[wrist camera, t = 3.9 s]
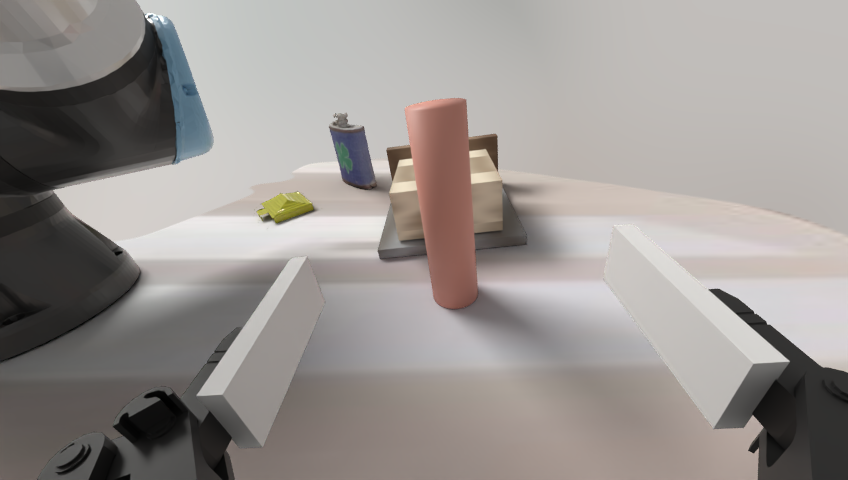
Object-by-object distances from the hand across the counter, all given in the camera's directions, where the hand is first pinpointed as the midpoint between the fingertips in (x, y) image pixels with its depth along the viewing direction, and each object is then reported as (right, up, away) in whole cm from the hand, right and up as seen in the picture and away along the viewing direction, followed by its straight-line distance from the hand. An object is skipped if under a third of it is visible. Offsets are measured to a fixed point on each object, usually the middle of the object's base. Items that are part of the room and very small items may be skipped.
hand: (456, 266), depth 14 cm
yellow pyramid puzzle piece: (-21, +5, +31) cm, 38 cm away
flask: (-12, +10, +37) cm, 40 cm away
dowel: (+1, -3, +11) cm, 11 cm away
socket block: (+1, +4, +21) cm, 21 cm away
